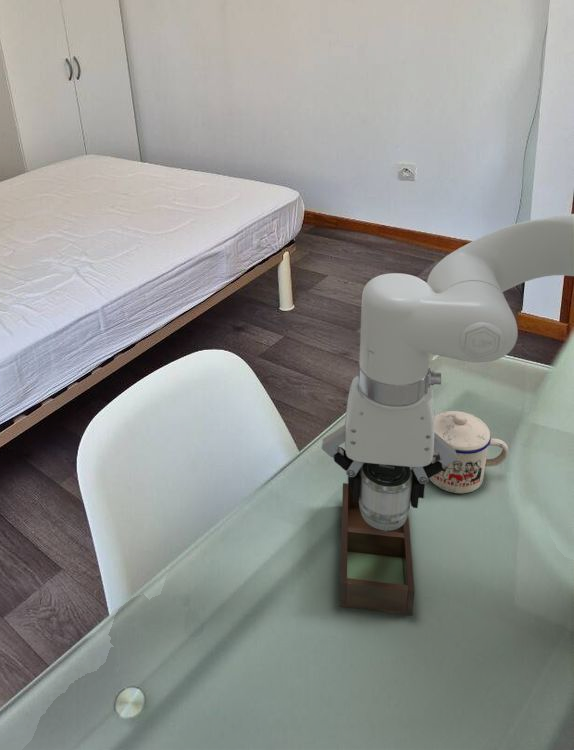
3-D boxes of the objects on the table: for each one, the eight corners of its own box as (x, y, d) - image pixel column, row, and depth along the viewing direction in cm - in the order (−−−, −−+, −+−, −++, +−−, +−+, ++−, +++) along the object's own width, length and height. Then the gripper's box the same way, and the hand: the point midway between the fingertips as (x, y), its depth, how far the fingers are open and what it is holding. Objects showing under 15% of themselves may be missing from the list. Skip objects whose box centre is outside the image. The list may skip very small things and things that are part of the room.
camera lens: (408, 537, 84) (412, 489, 80) (355, 527, 85) (357, 480, 82) (410, 499, 89) (414, 452, 85) (360, 491, 91) (362, 444, 87)
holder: (404, 511, 103) (406, 488, 101) (412, 615, 87) (414, 591, 85) (342, 505, 105) (342, 482, 103) (339, 606, 89) (340, 582, 87)
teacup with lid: (427, 493, 105) (433, 434, 100) (420, 452, 113) (425, 395, 108) (510, 499, 103) (521, 438, 98) (497, 457, 111) (506, 399, 106)
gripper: (468, 364, 79) (453, 481, 87) (317, 356, 83) (316, 469, 91) (478, 405, 73) (461, 527, 81) (313, 394, 77) (312, 512, 84)
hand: (384, 495), depth 86 cm, fingers closed on camera lens, 6 cm apart
